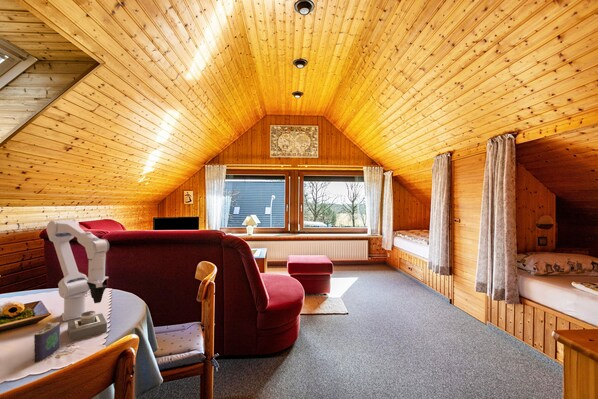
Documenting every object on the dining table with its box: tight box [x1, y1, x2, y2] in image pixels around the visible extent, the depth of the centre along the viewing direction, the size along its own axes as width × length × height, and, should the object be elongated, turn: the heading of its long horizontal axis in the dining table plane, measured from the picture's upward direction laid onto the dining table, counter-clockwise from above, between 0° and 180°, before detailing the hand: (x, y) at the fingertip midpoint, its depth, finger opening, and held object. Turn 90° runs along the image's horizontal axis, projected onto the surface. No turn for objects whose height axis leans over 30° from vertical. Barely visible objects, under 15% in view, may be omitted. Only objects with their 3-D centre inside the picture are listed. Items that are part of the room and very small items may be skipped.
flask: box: [33, 321, 61, 363], centre depth 89 cm, size 9×3×11 cm, turn 8°
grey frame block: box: [67, 312, 108, 343], centre depth 105 cm, size 12×11×4 cm
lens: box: [80, 310, 96, 326], centre depth 105 cm, size 4×4×7 cm
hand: (96, 300), depth 112 cm, fingers open, 7 cm apart
